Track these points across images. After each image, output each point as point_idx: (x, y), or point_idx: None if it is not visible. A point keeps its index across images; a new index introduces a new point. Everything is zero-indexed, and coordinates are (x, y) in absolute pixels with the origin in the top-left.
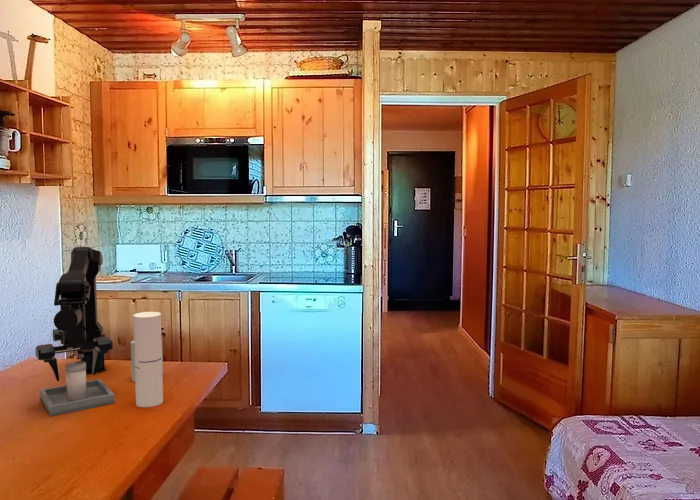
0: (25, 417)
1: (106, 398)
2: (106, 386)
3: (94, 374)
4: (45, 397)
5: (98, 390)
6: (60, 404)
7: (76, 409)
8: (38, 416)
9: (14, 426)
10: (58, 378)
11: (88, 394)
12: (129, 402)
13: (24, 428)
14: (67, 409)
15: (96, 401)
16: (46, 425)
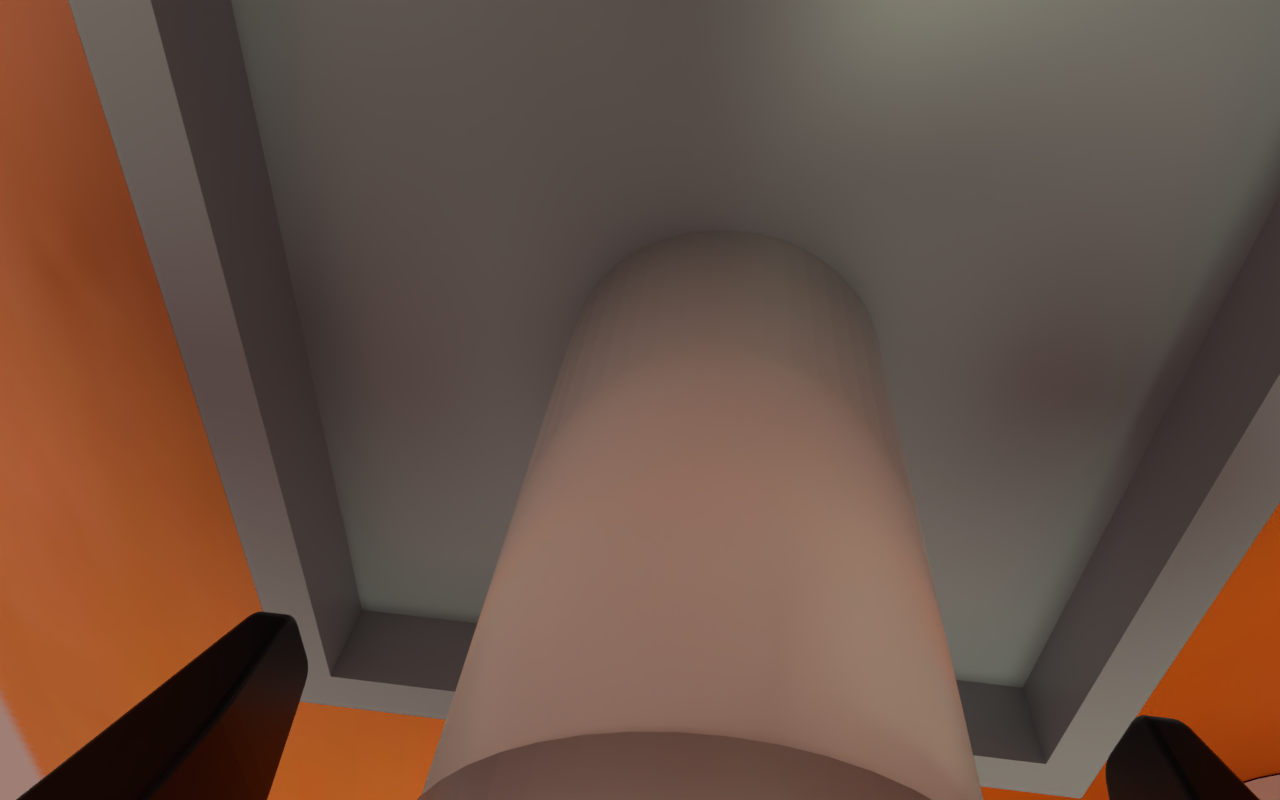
0: (75, 480)
1: None
2: (1268, 499)
3: (1127, 787)
4: (200, 371)
5: (1192, 252)
6: (410, 701)
7: None
8: (216, 535)
9: (26, 612)
10: (270, 755)
11: (934, 342)
12: None
13: (131, 689)
14: None
15: None
16: (309, 735)
